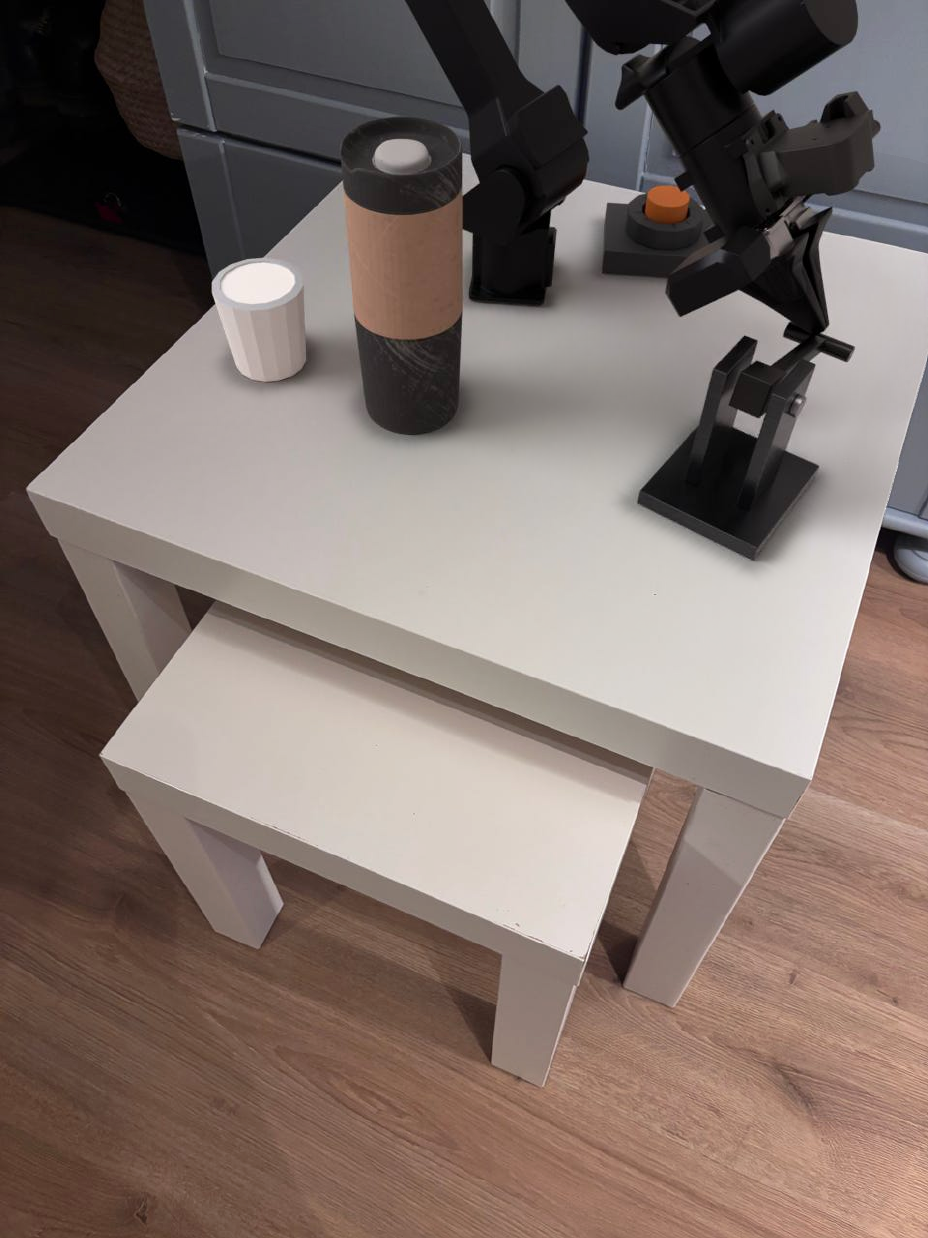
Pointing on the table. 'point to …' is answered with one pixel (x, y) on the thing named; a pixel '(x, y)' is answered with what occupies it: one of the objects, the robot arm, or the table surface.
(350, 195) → the travel mug
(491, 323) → the table surface
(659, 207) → the power button
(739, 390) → the switch lever
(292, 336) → the shot glass
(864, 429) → the table surface
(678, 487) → the switch bracket
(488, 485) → the table surface
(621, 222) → the control block
